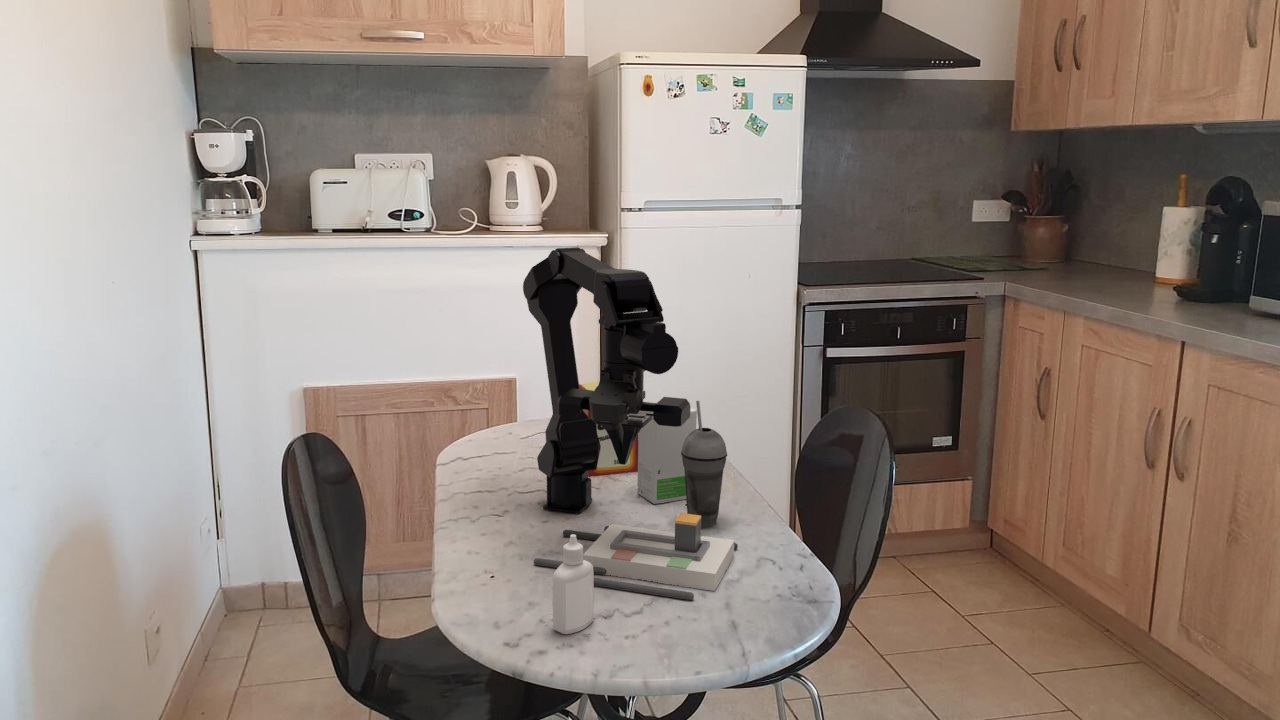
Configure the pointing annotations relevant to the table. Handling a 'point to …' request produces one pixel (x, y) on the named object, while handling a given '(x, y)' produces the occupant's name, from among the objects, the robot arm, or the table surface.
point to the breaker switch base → (660, 557)
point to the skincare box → (663, 460)
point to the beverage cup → (703, 472)
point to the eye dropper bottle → (573, 590)
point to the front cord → (622, 584)
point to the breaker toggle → (688, 533)
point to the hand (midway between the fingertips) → (623, 463)
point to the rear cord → (594, 535)
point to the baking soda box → (610, 449)
